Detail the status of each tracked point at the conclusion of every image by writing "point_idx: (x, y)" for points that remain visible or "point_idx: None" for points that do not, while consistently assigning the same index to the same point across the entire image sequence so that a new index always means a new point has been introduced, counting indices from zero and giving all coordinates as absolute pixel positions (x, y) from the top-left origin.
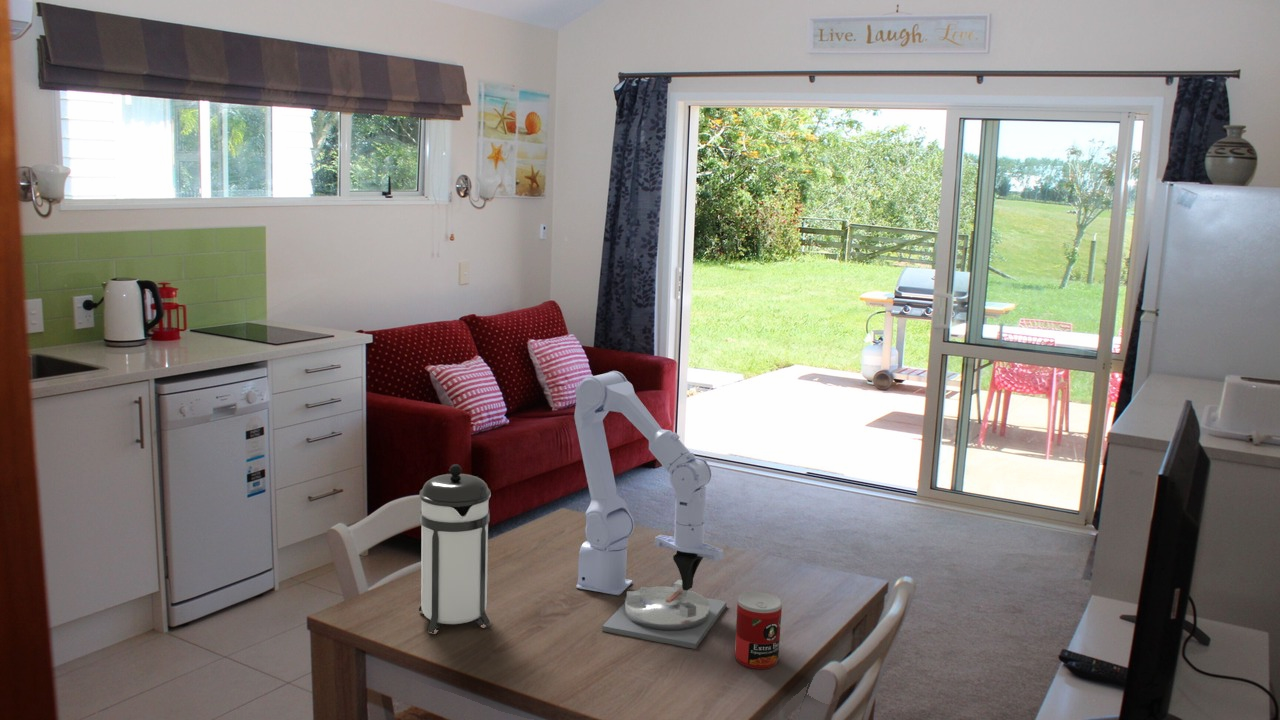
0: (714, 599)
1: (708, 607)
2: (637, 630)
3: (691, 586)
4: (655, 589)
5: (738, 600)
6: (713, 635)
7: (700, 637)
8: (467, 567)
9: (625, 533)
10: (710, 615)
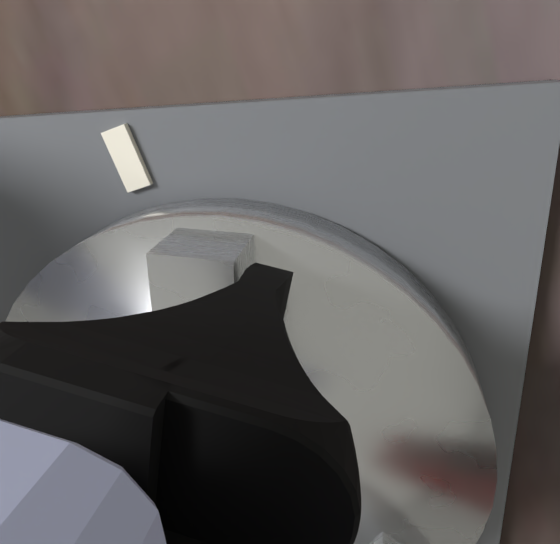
0: (456, 89)
1: (496, 459)
2: None
3: (288, 286)
4: (69, 316)
5: None
6: (537, 495)
7: None
8: None
9: None
10: (488, 365)
